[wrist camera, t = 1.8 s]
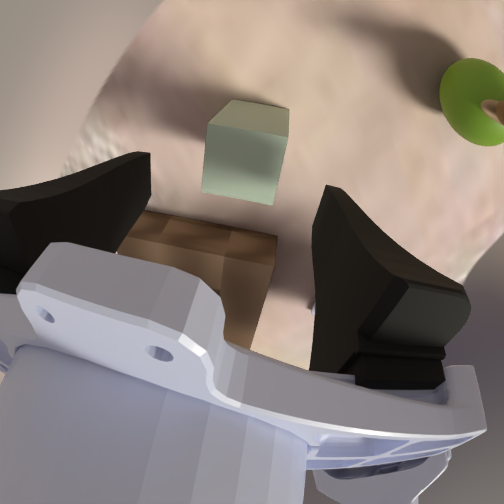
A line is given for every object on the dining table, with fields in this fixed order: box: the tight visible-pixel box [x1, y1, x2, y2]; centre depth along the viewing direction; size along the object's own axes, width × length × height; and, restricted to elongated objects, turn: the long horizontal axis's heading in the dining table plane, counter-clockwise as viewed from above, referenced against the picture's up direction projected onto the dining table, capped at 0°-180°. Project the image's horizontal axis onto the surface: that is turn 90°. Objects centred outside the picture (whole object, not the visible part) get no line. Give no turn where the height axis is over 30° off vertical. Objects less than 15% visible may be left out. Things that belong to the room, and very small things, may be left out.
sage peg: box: [201, 99, 289, 206], centre depth 15 cm, size 4×4×6 cm
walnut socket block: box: [117, 210, 277, 350], centre depth 26 cm, size 12×12×4 cm
